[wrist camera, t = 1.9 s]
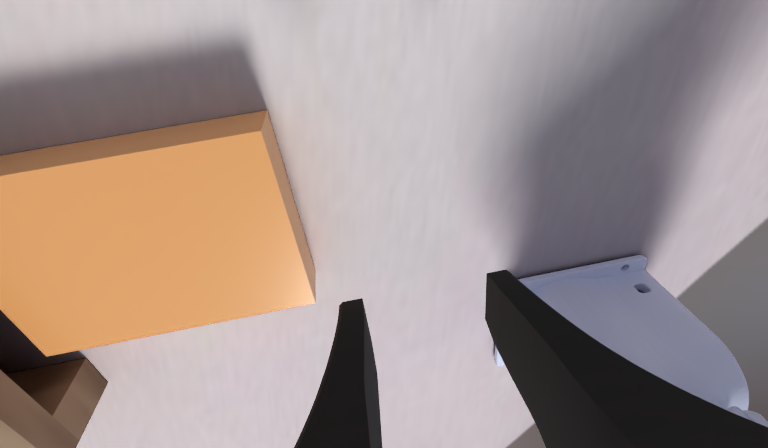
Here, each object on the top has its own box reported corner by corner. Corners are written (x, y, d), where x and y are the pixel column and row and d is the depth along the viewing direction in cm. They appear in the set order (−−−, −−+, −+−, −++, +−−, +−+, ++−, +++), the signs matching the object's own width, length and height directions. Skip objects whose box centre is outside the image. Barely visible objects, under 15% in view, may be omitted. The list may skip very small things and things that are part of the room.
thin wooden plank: (267, 109, 16) (260, 130, 14) (315, 270, 21) (315, 303, 19) (-56, 165, 16) (-113, 195, 14) (72, 317, 21) (46, 356, 19)
